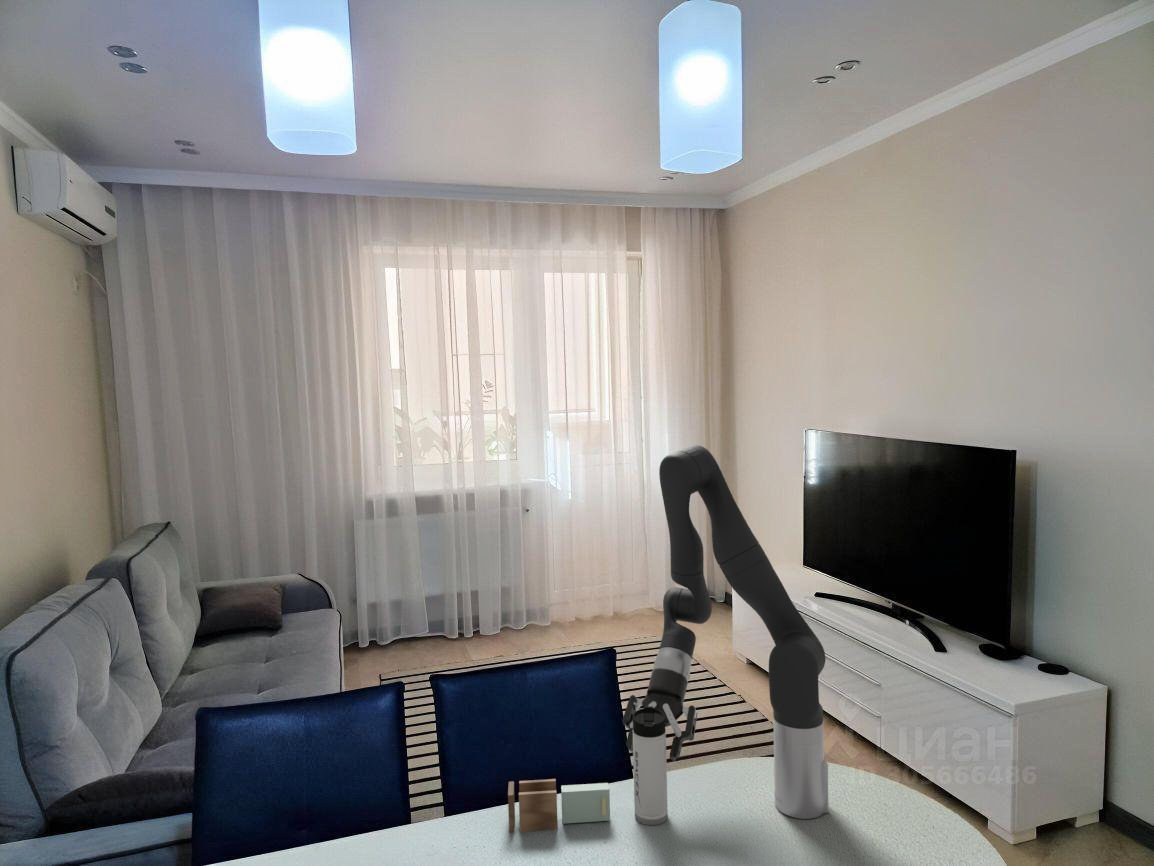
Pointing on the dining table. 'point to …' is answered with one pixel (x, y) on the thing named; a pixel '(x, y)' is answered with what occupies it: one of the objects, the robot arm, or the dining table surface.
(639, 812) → the travel mug
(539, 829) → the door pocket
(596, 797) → the pale green box
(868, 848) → the dining table surface
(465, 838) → the dining table surface
